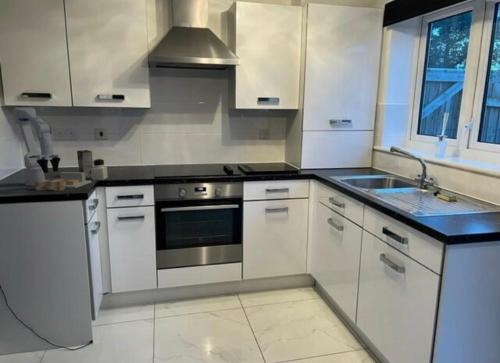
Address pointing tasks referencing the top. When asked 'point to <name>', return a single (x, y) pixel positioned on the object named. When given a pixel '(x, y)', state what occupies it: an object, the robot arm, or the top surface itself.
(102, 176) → the medicine bottle
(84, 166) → the coffee box
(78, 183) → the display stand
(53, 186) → the ash bar
